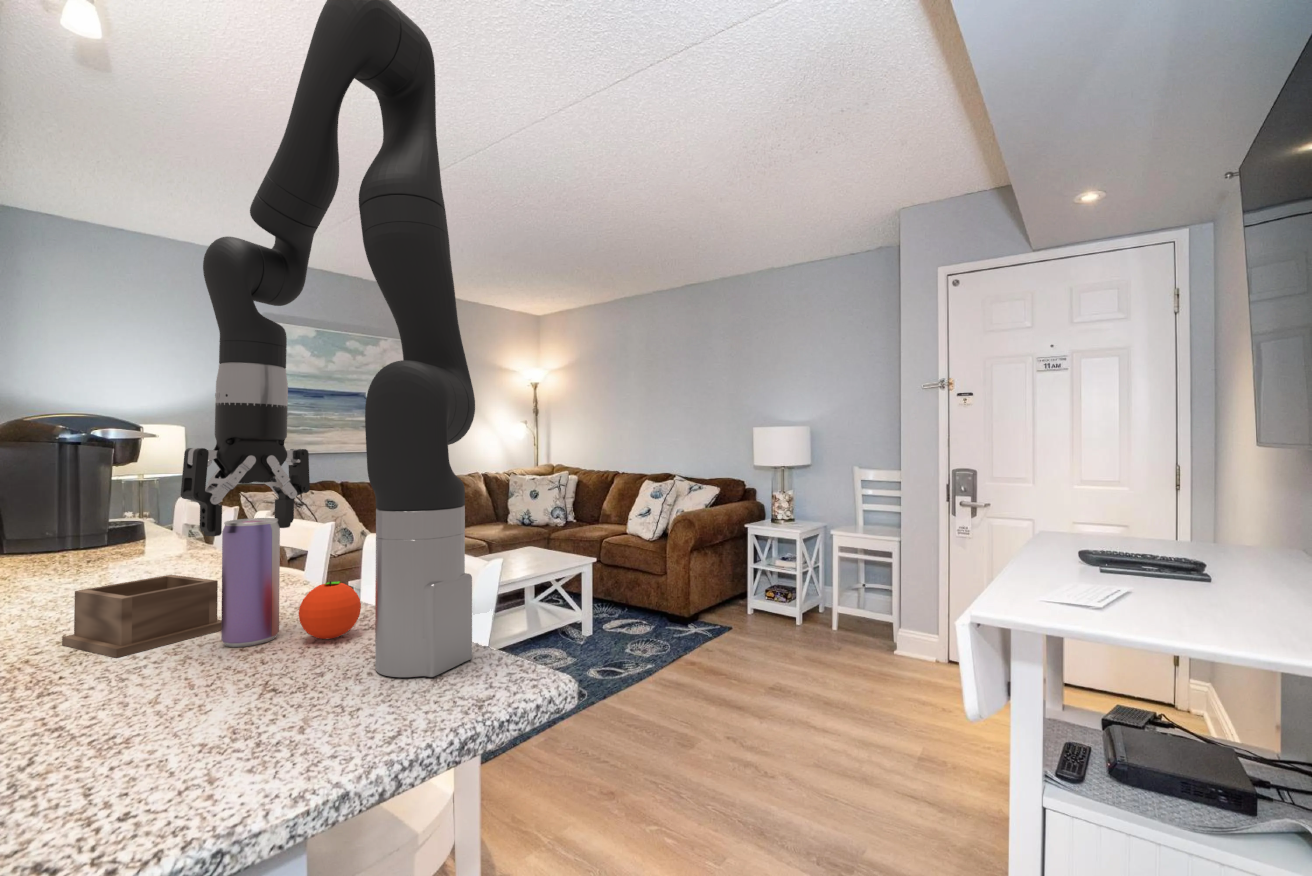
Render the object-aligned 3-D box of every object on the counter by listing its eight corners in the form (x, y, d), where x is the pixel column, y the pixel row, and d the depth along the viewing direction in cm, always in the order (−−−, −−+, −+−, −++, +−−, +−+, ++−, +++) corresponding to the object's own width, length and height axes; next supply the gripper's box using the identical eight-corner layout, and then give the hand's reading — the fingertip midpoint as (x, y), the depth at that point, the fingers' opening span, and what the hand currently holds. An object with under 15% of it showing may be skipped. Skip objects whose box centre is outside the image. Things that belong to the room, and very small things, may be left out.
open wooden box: (227, 628, 79) (227, 579, 79) (116, 657, 68) (117, 601, 68) (173, 619, 84) (174, 573, 84) (62, 645, 73) (62, 591, 73)
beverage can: (250, 649, 70) (251, 523, 71) (208, 646, 71) (209, 522, 72) (290, 634, 76) (291, 518, 76) (251, 632, 77) (252, 517, 78)
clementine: (311, 629, 78) (311, 575, 78) (368, 625, 80) (368, 572, 80) (289, 649, 71) (290, 589, 71) (353, 644, 72) (353, 585, 72)
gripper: (209, 396, 66) (206, 541, 66) (324, 406, 79) (322, 526, 79) (169, 398, 69) (166, 537, 69) (287, 407, 82) (284, 523, 82)
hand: (249, 531), depth 74 cm, fingers open, 8 cm apart
